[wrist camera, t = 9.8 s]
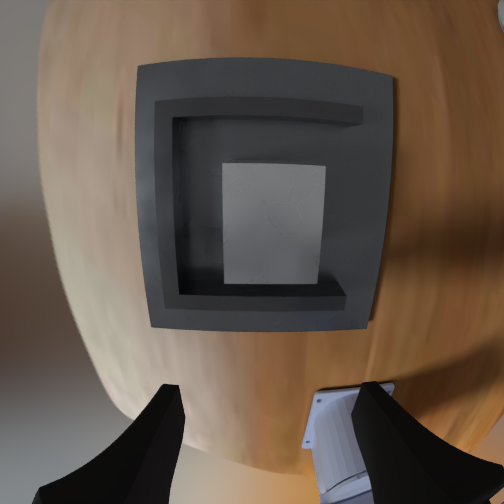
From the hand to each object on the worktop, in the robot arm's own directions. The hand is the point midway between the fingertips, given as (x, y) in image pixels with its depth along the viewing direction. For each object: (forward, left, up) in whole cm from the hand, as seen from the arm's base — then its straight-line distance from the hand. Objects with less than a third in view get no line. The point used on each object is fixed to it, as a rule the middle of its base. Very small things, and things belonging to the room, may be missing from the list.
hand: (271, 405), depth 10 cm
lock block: (+6, 0, -10) cm, 11 cm away
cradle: (+6, 0, -10) cm, 12 cm away
